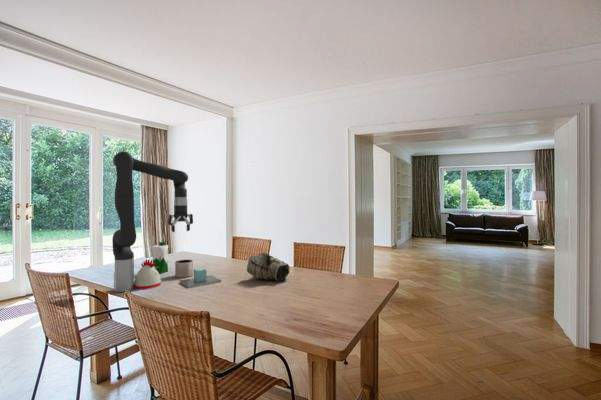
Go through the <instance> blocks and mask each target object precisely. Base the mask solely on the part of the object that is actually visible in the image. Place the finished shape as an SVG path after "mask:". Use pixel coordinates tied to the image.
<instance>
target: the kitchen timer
mask: <svg viewBox="0 0 601 400" xmlns="http://www.w3.org/2000/svg"><path fill="white" fill-rule="evenodd" d="M140 265H141V268H140V269H138V271H137V273H136V275H135V277H134V289H137V290H149V289H155V288H157V287H159V286H161V283H162V282H161V275H160V274H159V272H158V271H157V270H156V269H155V268H154V267H153V265H154V263H153V259H151V260H150V259H145V260H144V261H143V262H141V264H140Z"/></svg>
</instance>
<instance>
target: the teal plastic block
mask: <svg viewBox="0 0 601 400" xmlns="http://www.w3.org/2000/svg"><path fill="white" fill-rule="evenodd" d="M207 276H208V275H207V269H206V268H204V267H200V268H193V278H194V281H196V282H201V281H206V280H207Z"/></svg>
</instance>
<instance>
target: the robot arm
mask: <svg viewBox="0 0 601 400" xmlns="http://www.w3.org/2000/svg"><path fill="white" fill-rule="evenodd" d="M112 163H113V166H115V170H116V182H115V187H114V207H115V211H116V214H117V216H118V218H119V224H120V226H119V229H117V230H116V231H114V233H113V235H112V254H113V256H114V273H113V290H114V291H113V292H115V293H124V291H125V290H130V291H132V290H134V289H135V288H134V281H135V272H134V271H135V263H134V262H135V260H134V259H135V253H134V252H133V250H132V249H131V247H132V246H133V245H134V244H135V243H136V241H137V231H136V230H137V229H136V225H135V197H134V196H135V195H134V194H135V193H134V192H135V191H134V184H133V171H135V172H140V173H143V174H147V175H150V176H152V177H156V178H159V179H162V180H169V181H172V182H173V188H174V191H173V192H174V199H173V214H168V217H167V219H168V220H167V225H169V226H170V227H171V232H172V233H175V232H176V231H175V230H176V227H175V226H176V224H177V223H179V222H180V223H181V222H184V223H186V232H189V231H190V230H191V225H193V224H194V220H193V219H194V215H193V214H192V213H188V198H187V196H188V191H187V189H188V188H186V183H187V182H188V181H189V175H188V173H187V172H185V171H183V170H180V169H179V170H178V169H174V168H169V167H167V166H164V165H160V164H157V163H152V162H147V161H142V160H138V159H136V158H134V157H133V155H132V154H131V153H130V152H127V151H119V152H117V153H116V154H115V155H114V156H113V159H112ZM173 218H174V219H173ZM172 219H173V221H172ZM188 219H189V220H188Z"/></svg>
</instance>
